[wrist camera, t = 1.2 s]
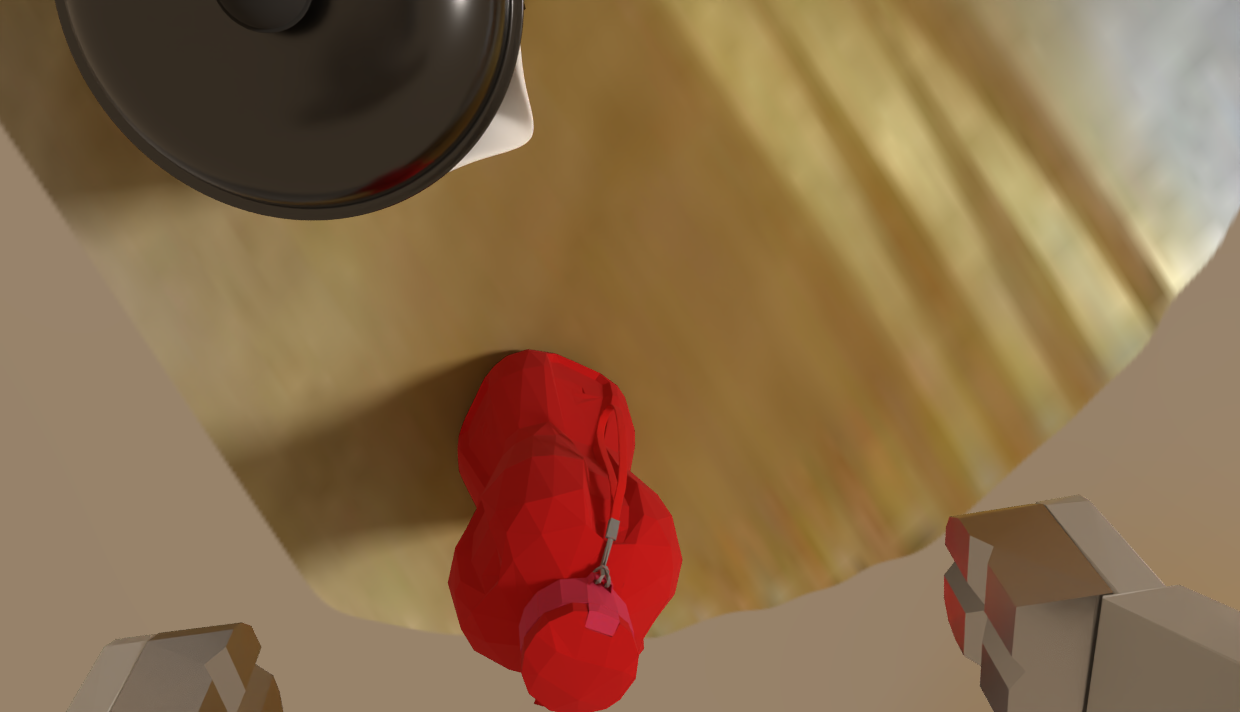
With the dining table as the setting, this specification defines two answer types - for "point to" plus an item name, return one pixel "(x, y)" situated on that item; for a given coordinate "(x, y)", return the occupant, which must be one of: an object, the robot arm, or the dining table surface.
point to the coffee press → (306, 93)
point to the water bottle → (559, 533)
